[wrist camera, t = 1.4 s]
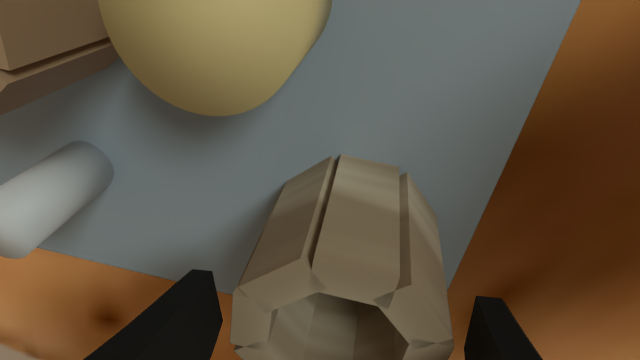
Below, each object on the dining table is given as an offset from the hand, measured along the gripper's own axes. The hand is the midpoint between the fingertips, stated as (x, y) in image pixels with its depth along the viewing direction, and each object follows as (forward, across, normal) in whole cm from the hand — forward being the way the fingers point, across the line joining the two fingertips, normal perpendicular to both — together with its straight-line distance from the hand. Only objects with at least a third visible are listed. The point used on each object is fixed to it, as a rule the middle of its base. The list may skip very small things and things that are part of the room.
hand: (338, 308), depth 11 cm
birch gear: (+4, 0, 0) cm, 4 cm away
